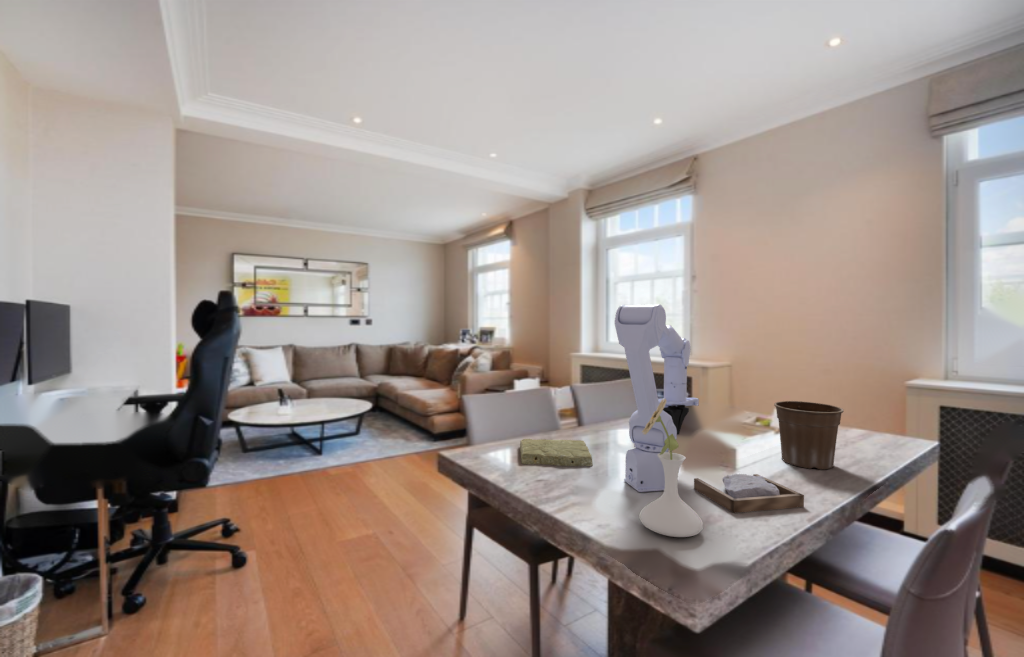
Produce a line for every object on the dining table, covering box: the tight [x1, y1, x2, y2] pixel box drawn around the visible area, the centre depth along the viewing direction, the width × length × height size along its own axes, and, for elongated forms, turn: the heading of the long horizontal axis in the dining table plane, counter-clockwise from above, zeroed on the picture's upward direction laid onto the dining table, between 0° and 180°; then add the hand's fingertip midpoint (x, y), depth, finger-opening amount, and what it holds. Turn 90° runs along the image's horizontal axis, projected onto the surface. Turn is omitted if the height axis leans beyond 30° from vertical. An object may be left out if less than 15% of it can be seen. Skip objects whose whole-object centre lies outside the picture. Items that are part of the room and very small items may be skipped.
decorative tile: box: [519, 438, 593, 467], centre depth 130 cm, size 19×20×4 cm
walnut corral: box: [693, 473, 805, 514], centre depth 100 cm, size 17×14×2 cm
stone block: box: [722, 473, 780, 499], centre depth 101 cm, size 12×5×10 cm
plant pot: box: [773, 400, 845, 470], centre depth 125 cm, size 16×16×16 cm
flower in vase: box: [638, 398, 704, 538], centre depth 83 cm, size 13×11×25 cm
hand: (674, 433), depth 119 cm, fingers closed
